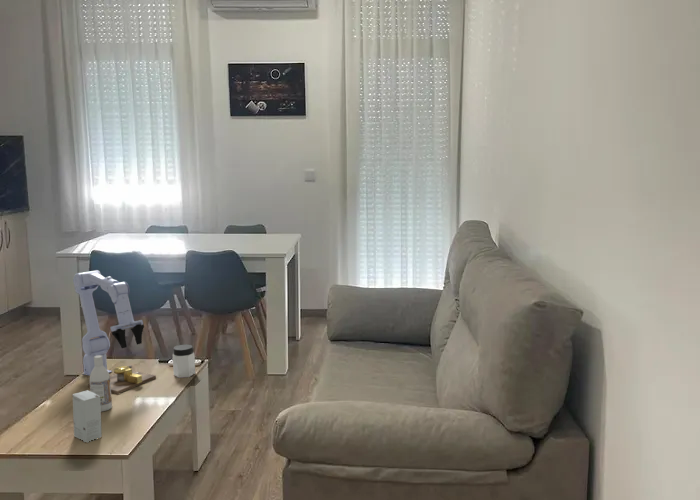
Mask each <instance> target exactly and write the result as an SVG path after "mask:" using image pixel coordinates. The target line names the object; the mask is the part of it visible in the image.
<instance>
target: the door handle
mask: <svg viewBox="0 0 700 500" xmlns="http://www.w3.org/2000/svg"><path fill="white" fill-rule="evenodd" d="M132 371H133V368H132V369H129V365H120V366H116V367H114V368H113V373H114V374H124V381H127V382H131V383H136V384H139V383H141V382H142V375H138V374H133V373H132Z"/></svg>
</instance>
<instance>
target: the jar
mask: <svg viewBox="0 0 700 500" xmlns="http://www.w3.org/2000/svg"><path fill="white" fill-rule="evenodd" d="M172 349H173V350H172V366H173V367H172V369H173V376H175V377H176V378H178V379H179V378H190V377H191V376H193V374H194V375H195V374H196V363H195V362H196V360H195V359H196V358H195V352H194V345H192V344H186V343H185V344H177V345H175V346H173V348H172Z"/></svg>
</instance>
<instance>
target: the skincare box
mask: <svg viewBox="0 0 700 500" xmlns="http://www.w3.org/2000/svg"><path fill="white" fill-rule="evenodd" d="M72 413H73V414H72V415H73V416H72V418H73V436H74V437H75V438H76V439H79V440H80V439H81V440H80V441H82V440H83V443H85V442H87V443H90V442H92V441H91V440H93V441H95V440H94V439H96V440H98V439H97V438H99V439H101V438H100V437H102V433H103V432H102V412H101V405H100V396H98V395H96V394H95V393H93V392H91V390H88V389H86V390H83V391H80V392H76V393H72ZM89 441H90V442H89Z"/></svg>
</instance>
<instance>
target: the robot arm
mask: <svg viewBox="0 0 700 500" xmlns="http://www.w3.org/2000/svg"><path fill="white" fill-rule="evenodd" d="M72 280H73V286H74V290H75V291H74V292H75V293H76V294H78V295H79V300H80V304H81V308H82V314H83V318H84V323H85V326H86V333H84V334H85V335H83V337H82V339H81V340H82V341H81V342H82V351H83V354H84V356H83V358H82V364H83V372H82V373H81V374H82V375H85V376H89V377H90V374H91V372H92V370H93V368H94V367H95V365H94V356H97V355H101V356H102V360H103V366H104V367H105V368H106V369H107V371H108V372H109V374H110V373H112V372H113V371H112V370H109V369H108V362H107V353H108V351H109V349H110V347H111V342H110V341H111V340H110V339H109V337H108V334H107V332H105V331H104V330H102V329H100V323H99V320H98V314H97V310H96V306H95V300H94V298H93V293H94V291H96V290H97V289H98V287H99V286H100V288H101V290H102V291H105V292H106V293H107V294H108V295H109V297H110V299H111V302H112V303H113V304H114V308H115V312H116V317H117V321H118V324H117V325H112V326H110V327H109V328H110V332H111V335H112V336H113V337H114V338H115V339H116V340H117V342H118V344H119V345H120V348H121V349H125V348H128V346H127V340H126V329H129V328H130V330H131V332H132V333H133V336H134V340H135V342H136V343H135V344H136V345H141V344H142V343H143V342H142V341H143V340H142V339H143V332H144V331H143V330H144V328H145V326H144V321H143V319H139V320H135V318H134V315H133V312H132V306H131V302H130V298H129V295H130V285H129V283H128V282H127V281H125V280H124V281H118V280H117V279H114V278H113V277H112V276H110V275H109V276H106V277H105V276H104V275H102V273H101V271H100V270H98V269H95V270H91V271H90V270H89V271H84V272H76V273H75V274H74V275H73V279H72ZM83 373H84V374H83Z"/></svg>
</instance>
